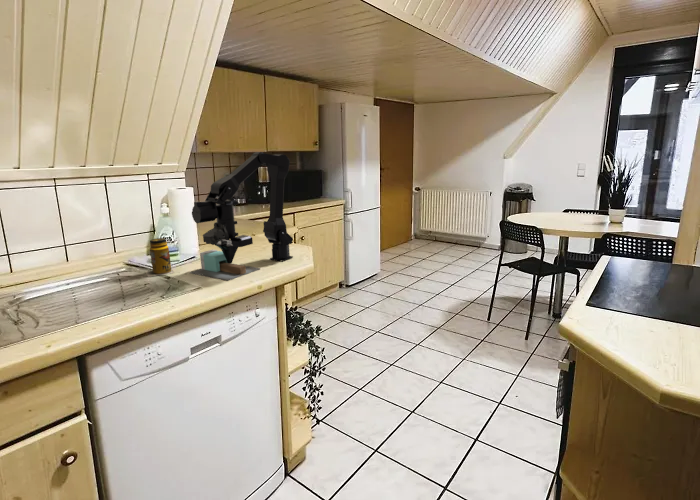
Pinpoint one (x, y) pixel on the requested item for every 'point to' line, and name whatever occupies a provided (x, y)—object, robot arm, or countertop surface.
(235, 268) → the rail track
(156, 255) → the condiment
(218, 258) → the block
